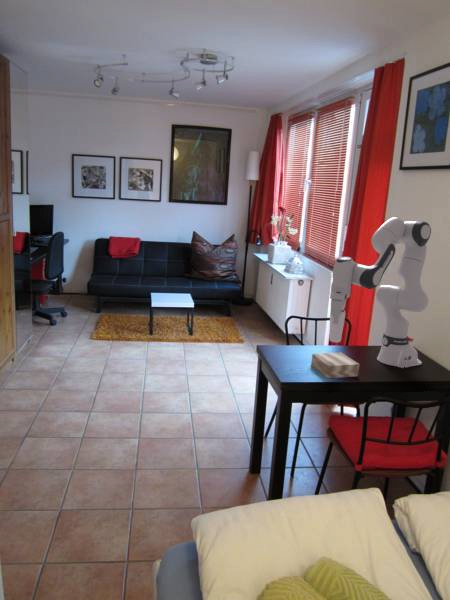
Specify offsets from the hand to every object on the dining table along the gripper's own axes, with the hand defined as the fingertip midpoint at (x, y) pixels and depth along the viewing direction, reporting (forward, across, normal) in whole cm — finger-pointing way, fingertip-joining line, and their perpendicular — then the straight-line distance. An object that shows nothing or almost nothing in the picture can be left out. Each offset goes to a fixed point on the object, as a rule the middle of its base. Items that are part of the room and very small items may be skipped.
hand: (337, 321), depth 237 cm
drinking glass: (+10, 0, 0) cm, 10 cm away
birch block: (+24, +1, +1) cm, 24 cm away
